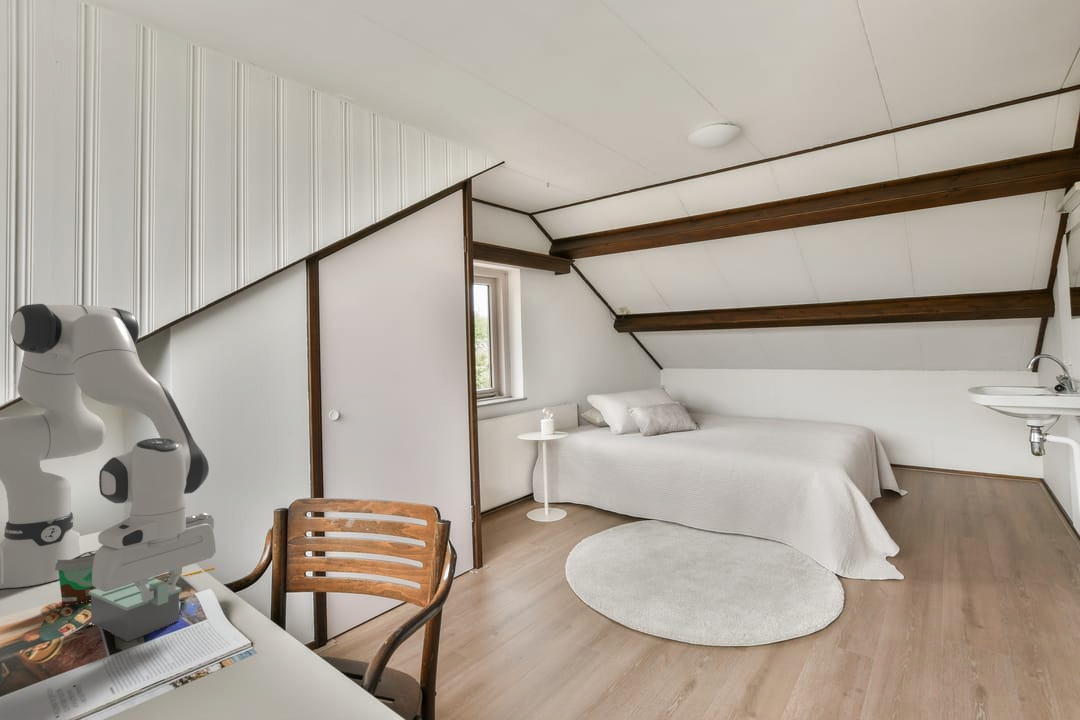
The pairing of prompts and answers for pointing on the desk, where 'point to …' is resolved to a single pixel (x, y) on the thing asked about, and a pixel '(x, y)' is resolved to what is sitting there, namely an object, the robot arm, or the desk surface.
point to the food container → (76, 578)
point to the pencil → (199, 571)
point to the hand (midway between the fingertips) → (158, 596)
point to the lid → (135, 594)
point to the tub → (134, 617)
